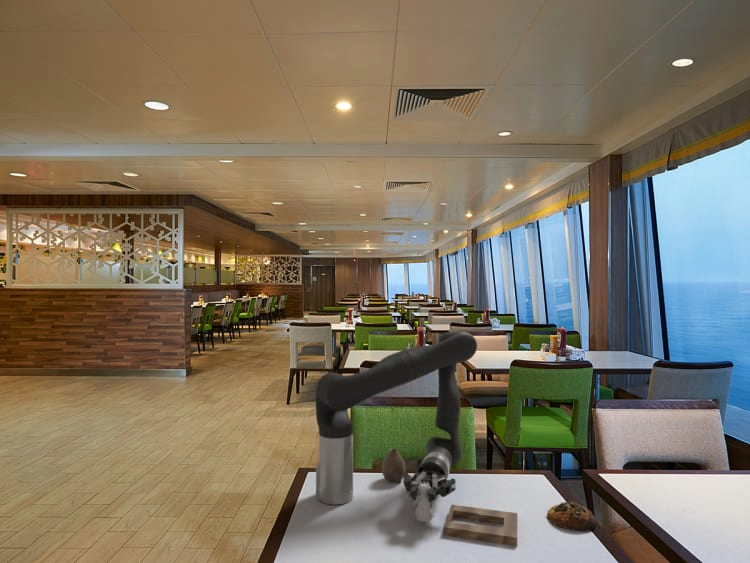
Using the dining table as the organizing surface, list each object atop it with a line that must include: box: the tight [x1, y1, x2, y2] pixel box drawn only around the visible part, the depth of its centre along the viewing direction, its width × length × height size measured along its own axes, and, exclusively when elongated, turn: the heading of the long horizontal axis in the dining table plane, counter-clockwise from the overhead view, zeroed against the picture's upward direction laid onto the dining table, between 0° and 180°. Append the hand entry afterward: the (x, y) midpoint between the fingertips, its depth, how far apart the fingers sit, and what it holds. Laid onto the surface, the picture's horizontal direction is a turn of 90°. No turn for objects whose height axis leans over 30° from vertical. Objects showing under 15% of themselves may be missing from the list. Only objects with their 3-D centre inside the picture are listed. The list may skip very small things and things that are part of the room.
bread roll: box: [546, 501, 596, 532], centre depth 115 cm, size 11×11×5 cm
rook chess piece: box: [414, 482, 434, 523], centre depth 112 cm, size 4×4×8 cm
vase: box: [381, 448, 406, 484], centre depth 139 cm, size 7×7×9 cm
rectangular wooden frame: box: [443, 504, 518, 547], centre depth 111 cm, size 16×12×2 cm
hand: (421, 497), depth 110 cm, fingers closed on rook chess piece, 3 cm apart
